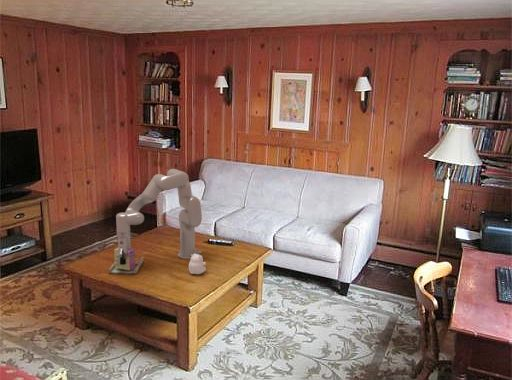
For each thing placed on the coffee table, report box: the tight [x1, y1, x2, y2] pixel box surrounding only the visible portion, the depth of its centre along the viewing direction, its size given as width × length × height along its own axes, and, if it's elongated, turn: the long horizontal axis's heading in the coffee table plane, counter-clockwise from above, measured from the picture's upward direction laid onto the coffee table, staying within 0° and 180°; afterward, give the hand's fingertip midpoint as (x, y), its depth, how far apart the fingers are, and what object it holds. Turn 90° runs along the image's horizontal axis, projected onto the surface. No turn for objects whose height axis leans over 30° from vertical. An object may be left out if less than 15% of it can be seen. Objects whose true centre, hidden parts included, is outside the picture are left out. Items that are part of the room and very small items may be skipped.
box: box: [113, 247, 136, 271], centre depth 256 cm, size 10×6×12 cm, turn 72°
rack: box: [108, 256, 145, 276], centre depth 262 cm, size 16×20×3 cm
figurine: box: [188, 253, 207, 275], centre depth 257 cm, size 10×10×12 cm
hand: (124, 261), depth 256 cm, fingers closed on box, 7 cm apart
